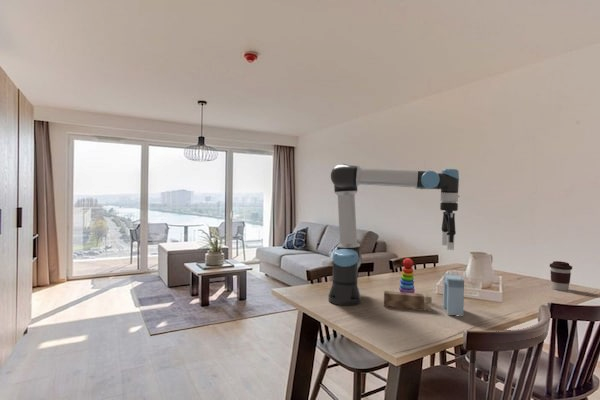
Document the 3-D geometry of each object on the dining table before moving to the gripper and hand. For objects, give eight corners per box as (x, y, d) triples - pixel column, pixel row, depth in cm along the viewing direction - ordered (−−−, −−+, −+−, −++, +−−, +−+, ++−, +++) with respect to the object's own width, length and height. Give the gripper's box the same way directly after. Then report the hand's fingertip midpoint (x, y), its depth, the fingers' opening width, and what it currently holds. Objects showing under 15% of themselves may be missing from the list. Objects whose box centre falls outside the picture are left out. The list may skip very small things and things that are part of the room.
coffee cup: (576, 292, 183) (577, 264, 183) (557, 291, 183) (558, 263, 183) (562, 287, 193) (563, 260, 193) (544, 286, 193) (545, 260, 193)
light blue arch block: (447, 315, 143) (448, 279, 143) (442, 306, 155) (443, 273, 155) (463, 316, 142) (464, 280, 142) (457, 307, 154) (458, 274, 153)
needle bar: (383, 306, 154) (384, 293, 153) (383, 303, 157) (384, 290, 157) (431, 311, 149) (431, 297, 149) (430, 308, 153) (430, 294, 153)
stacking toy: (396, 296, 170) (397, 258, 169) (400, 292, 177) (401, 256, 176) (413, 298, 166) (414, 260, 166) (416, 294, 173) (417, 257, 173)
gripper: (464, 203, 147) (462, 252, 148) (452, 201, 172) (450, 244, 172) (445, 202, 149) (443, 251, 149) (436, 201, 173) (434, 243, 174)
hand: (447, 247), depth 161 cm, fingers open, 13 cm apart
